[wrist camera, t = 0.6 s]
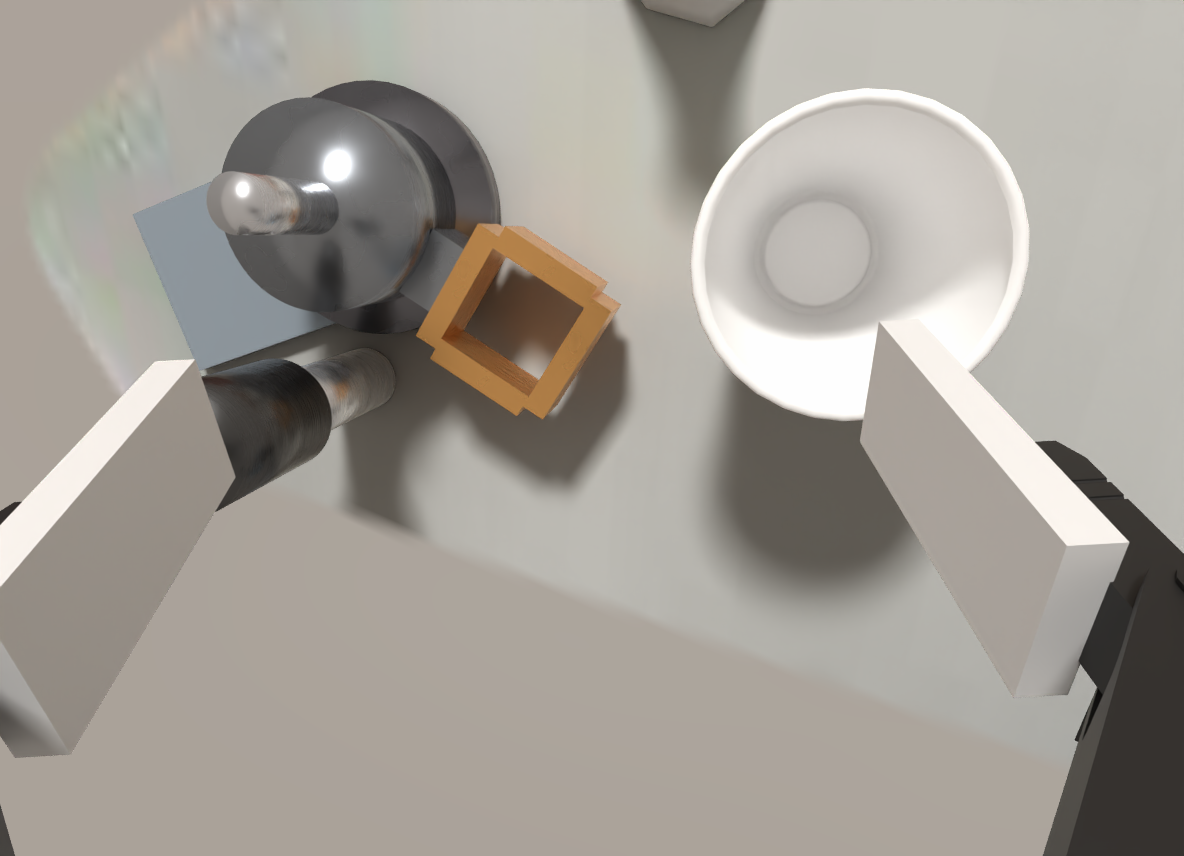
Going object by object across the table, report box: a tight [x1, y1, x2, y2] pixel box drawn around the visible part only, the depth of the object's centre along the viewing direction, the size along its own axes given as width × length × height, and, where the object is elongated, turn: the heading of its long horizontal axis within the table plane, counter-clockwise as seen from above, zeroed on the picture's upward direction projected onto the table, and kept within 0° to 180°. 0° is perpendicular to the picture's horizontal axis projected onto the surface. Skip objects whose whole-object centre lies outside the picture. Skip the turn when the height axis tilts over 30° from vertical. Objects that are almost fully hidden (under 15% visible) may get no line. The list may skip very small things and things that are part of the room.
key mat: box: [133, 182, 335, 371], centre depth 39 cm, size 8×8×1 cm
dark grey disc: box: [311, 80, 500, 334], centre depth 37 cm, size 11×11×2 cm
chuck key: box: [202, 348, 396, 512], centre depth 33 cm, size 4×4×14 cm
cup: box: [690, 88, 1029, 421], centre depth 29 cm, size 10×10×11 cm
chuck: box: [206, 98, 621, 420], centre depth 31 cm, size 16×8×10 cm, turn 58°
